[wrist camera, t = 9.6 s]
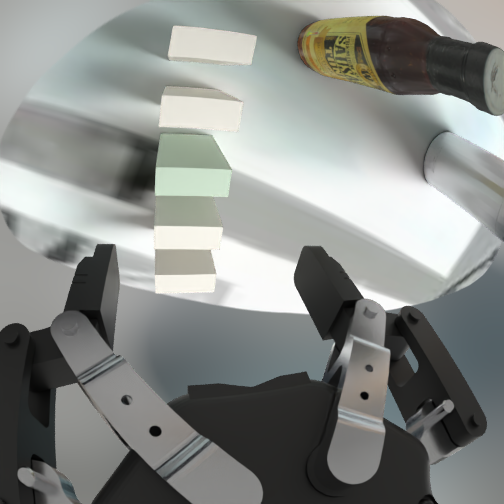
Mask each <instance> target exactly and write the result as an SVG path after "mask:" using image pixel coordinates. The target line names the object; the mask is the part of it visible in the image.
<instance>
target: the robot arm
mask: <svg viewBox="0 0 504 504" xmlns="http://www.w3.org/2000/svg"><path fill="white" fill-rule="evenodd" d="M424 174H425V178H426V180H427V182H428V183H429V184H430V185H431V186H433V187H434V188H436V189H437V190H438V191H440V192H441V193H443V194H444V195H445V196H447V197H448V198H449V199H451V200H452V201H453V202H455V203H456V204H457V205H459V206H460V207H461V208H463V209H464V210H465V211H466V212H468V213H469V214H470V215H472V216H473V217H474V218H475V219H476V220H478V221H479V222H480V223H481V224H483V225H484V226H485V227H486V228H487V229H489V230H490V231H491V232H492V233H493V234H494V235H495V236H497V237H498V238H499V239H500V240H501V241H502V242H503V243H504V160H502V159H500V158H499V157H497V156H495V155H494V154H492V153H490V152H488V151H486V150H485V149H483V148H481V147H479V146H477V145H475V144H473V143H472V142H470V141H468V140H466V139H464V138H462V137H460V136H458V135H456V134H454V133H451V132H443V133H441V134H439V135H438V136H437V137H436V138H435V139H434V140H433V141H432V143H431V144H430V146H429V148H428V150H427V153H426V156H425V161H424ZM294 283H295V286H296V288H297V290H298V292H299V294H300V296H301V298H302V300H303V302H304V304H305V306H306V308H307V310H308V312H309V314H310V316H311V318H312V320H313V321H314V323H315V326H316V328H317V330H318V332H319V334H320V336H321V337H322V339H323V340H328V339H334V341H335V342H334V344H333V346H332V349H331V352H330V355H329V359H328V362H327V365H326V369H325V372H324V375H323V378H322V381H317V380H310V379H309V377H308V374H307V372H301V373H295V374H290V375H283V376H279V377H276V378H274V379H272V380H269V381H267V382H265V383H262V384H259V385H257V386H254V387H245V386H236V385H227V384H208V385H207V384H206V385H191V386H188V394H186V395H183V396H180V397H178V398H176V399H174V400H172V401H170V402H169V403H167V404H166V403H165V402H164V401H163V400H162V399H161V398H160V397H159V396H158V395H157V394H156V393H155V392H154V391H153V390H152V389H151V387H150V386H149V385H148V384H147V383H146V382H145V381H144V380H143V379H142V378H141V377H140V376H139V375H138V373H137V372H136V371H135V370H134V369H133V368H132V367H131V366H130V364H129V363H128V362H127V361H126V360H125V359H124V358H123V357H122V356H120V355H119V356H116V355H115V354H114V353H113V344H114V332H115V321H116V312H117V303H118V294H119V286H120V280H119V270H118V262H117V253H116V246H115V244H97V246H96V249H95V252H94V255H93V257H85V258H84V259H83V260H82V261H81V262H80V263H79V264H78V266H77V269H76V272H75V276H74V278H73V281H72V284H71V287H70V291H69V294H68V298H67V301H66V305H65V309H64V312H63V313H61V314H59V315H58V316H57V317H56V318H55V319H54V320H53V322H52V324H51V327H48V328H46V329H42V330H38V331H33V332H29V331H28V329H27V328H26V327H25V326H24V325H22V324H19V323H14V324H10V325H8V326H6V327H5V328H3V329H2V330H1V332H0V504H82V503H81V502H80V501H79V500H78V498H77V496H76V494H75V491H74V487H73V485H72V483H71V481H70V480H69V479H68V478H67V477H66V476H65V475H64V474H63V473H61V472H59V471H58V470H56V454H55V400H56V388H57V387H61V386H65V385H69V384H73V383H78V385H79V386H80V388H81V389H82V391H83V392H84V394H85V395H86V396H87V398H88V399H89V401H90V402H91V403H92V405H93V406H94V408H95V409H96V410H97V412H98V413H99V414H100V416H101V417H102V418H103V420H104V421H105V422H106V424H107V425H108V426H109V428H110V429H111V430H112V432H113V433H114V434H115V435H116V436H117V437H118V439H119V440H120V441H121V442H122V443H123V444H124V446H125V447H126V448H127V449H128V450H129V452H128V454H127V455H126V456H125V458H124V459H123V461H122V462H121V463H120V465H119V466H118V468H117V469H116V470H115V471H114V473H113V474H112V476H111V477H110V478H109V480H108V481H107V482H106V484H105V485H104V486H103V488H102V489H101V490H100V492H99V493H98V494H97V496H96V497H95V498H94V500H93V502H92V504H438V503H437V502H436V501H435V499H434V497H433V495H432V491H431V485H430V465H433V464H436V463H438V462H440V461H442V460H443V459H445V458H447V457H449V456H450V455H452V454H454V453H455V452H457V451H459V450H460V449H462V448H464V447H465V446H467V445H468V444H470V443H471V442H473V441H474V440H476V439H477V438H479V437H480V436H482V435H483V434H484V433H485V430H486V427H487V421H486V417H485V415H484V413H483V411H482V409H481V407H480V405H479V403H478V402H477V400H476V398H475V396H474V394H473V393H472V391H471V389H470V388H469V386H468V384H467V382H466V380H465V379H464V377H463V376H462V374H461V372H460V370H459V369H458V367H457V365H456V364H455V362H454V360H453V359H452V357H451V356H450V354H449V352H448V351H447V349H446V348H445V346H444V345H443V343H442V342H441V340H440V338H439V337H438V336H437V334H436V332H435V331H434V329H433V328H432V327H431V325H430V324H429V322H428V321H427V319H426V318H425V316H424V315H423V314H422V313H421V312H420V311H419V310H418V309H416V308H414V307H411V306H404V307H403V308H402V309H401V310H400V312H399V314H392V313H386V312H385V310H384V309H383V308H382V306H381V305H379V304H378V303H377V302H375V301H373V300H370V299H364V298H363V296H362V295H361V293H360V292H359V290H358V289H357V288H356V286H355V285H354V283H353V282H352V280H351V279H349V276H348V275H347V273H345V271H344V269H343V268H342V266H341V265H340V264H339V263H338V262H337V261H336V260H334V259H333V258H332V257H329V256H328V254H327V253H326V251H325V250H324V249H323V247H321V246H304V247H303V249H302V251H301V255H300V258H299V261H298V264H297V267H296V270H295V273H294ZM409 347H410V349H411V350H412V352H413V354H414V356H415V357H416V359H417V361H418V364H419V367H418V371H417V372H416V373H414V371H413V369H412V367H411V365H410V364H409V362H408V360H407V358H406V357H405V355H404V354H405V352H406V351H407V350H408V349H409ZM387 385H388V387H389V389H390V391H391V393H392V395H393V397H394V399H395V401H396V403H397V405H398V407H399V410H400V411H401V414H402V416H403V418H404V421H405V423H406V431H405V430H403V429H402V428H400V427H398V426H397V425H395V424H393V423H391V422H390V421H388V420H387V419H385V418H383V414H384V408H385V401H386V393H387Z"/></svg>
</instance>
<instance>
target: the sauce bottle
mask: <svg viewBox="0 0 504 504" xmlns="http://www.w3.org/2000/svg"><path fill="white" fill-rule="evenodd" d="M298 50H299V54H300V56H301V59H302V60H303V62H304V64H305V65H307V66H308V67H309V68H311V69H313V71H316V72H317V73H319V74H321V75H324V76H327V77H332V78H336V79H341V80H345V81H349V82H353V83H357V84H361V85H365V86H368V87H372V88H376V89H379V90H383V91H386V92H389V93H392V94H395V95H434V94H438V93H443V94H446V95H452V96H455V97H458V98H460V99H463V100H465V101H468V102H470V103H471V104H473V105H474V106H475V107H476V108H477V109H479V110H481V111H484V112H487V113H489V114H491V115H494V116H499V115H502V114H503V113H504V51H503V50H502V49H500V48H498V47H496V46H493V45H490V44H488V43H484V42H477V43H475V44H472V43H469V42H463V41H459V40H454V39H451V38H450V37H445V36H440V35H438V34H437V33H436V32H435V31H434V30H433V29H431V28H430V27H429V26H428V25H426V24H424V23H422V22H420V21H418V20H416V19H411V18H405V17H401V18H397V17H390V16H362V17H346V18H334V19H325V20H320V21H317V22H315V23H312V24H309V25H308V26H306V27H305V28H304V29H303V30H302V32H301V33H300V35H299V38H298Z"/></svg>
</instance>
